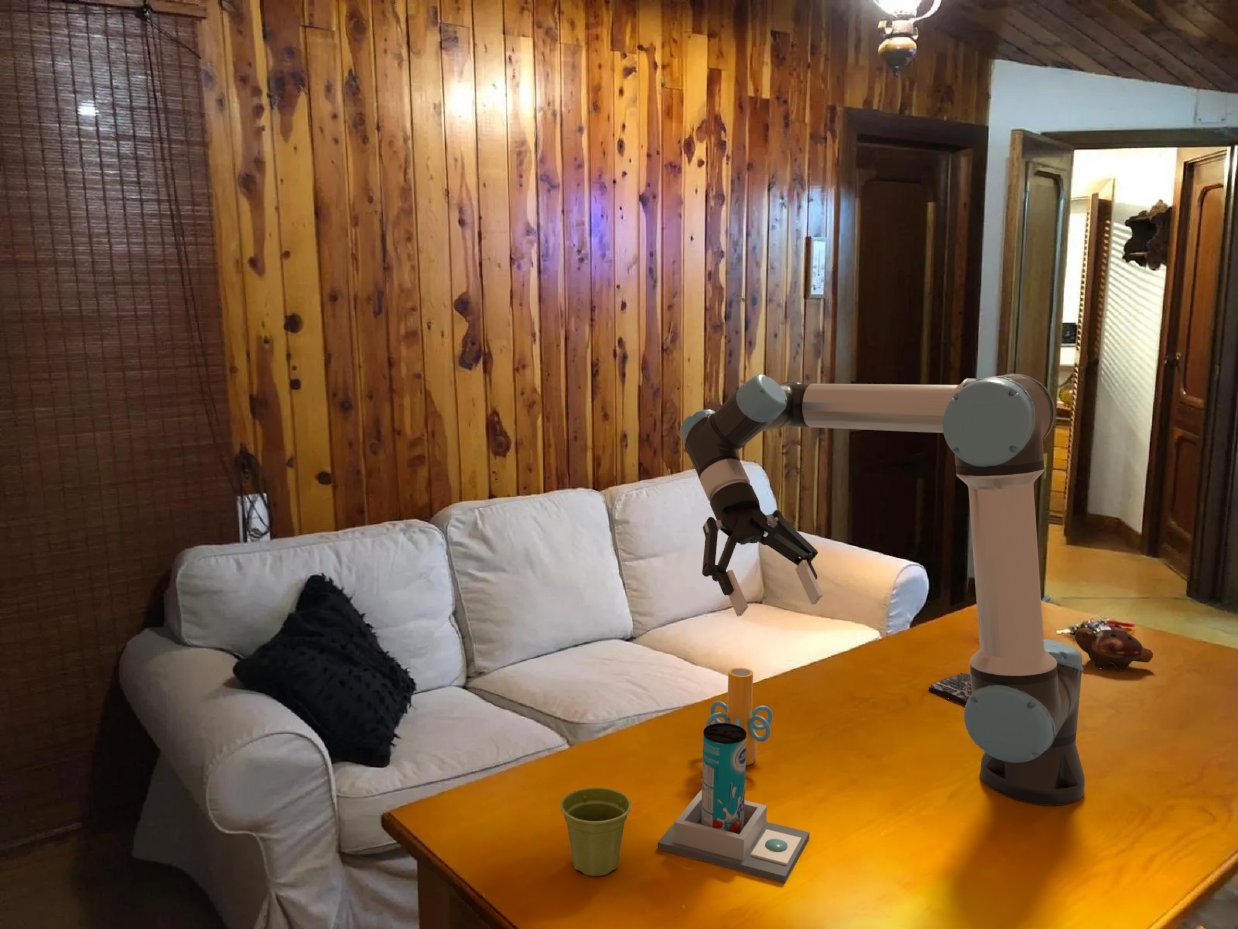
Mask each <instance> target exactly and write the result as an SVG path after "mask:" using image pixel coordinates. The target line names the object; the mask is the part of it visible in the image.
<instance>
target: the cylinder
mask: <svg viewBox="0 0 1238 929" xmlns="http://www.w3.org/2000/svg"><path fill="white" fill-rule="evenodd" d="M727 678H728V679H727V704H726V703H725V702H723V701H721V700H717V701H714V702H713V703H712V704H711V706H710V708H709V709H710V711H709V712H710V716H709V717H708V718H707V720H706V723H705V728H706V727H707V726H709V725H711V724H713V723H712V722H714V724H716V723H729V724H734V725H737V726H740V727H742V728H743V729H744V730H745V731H746V733H747V735H746V767H747V766H751V765H753V764H754V763H755V762H756V760H757V756H758V755H757V754H758V742H761V743H764V742H766V741H767V740H769V738H770V736H771V726H770V725H771V724H772V721H773V711H772V710H771V708H769V707H768V706H767V705H758V706H756V707H755V708H753V688H754V687H753V686H754V685H753V684H754V671H753V670H751V669H749V668H745V667H733V668H730V669H728V674H727ZM717 707H721V708H722V709H723V710H724V712H725V713H724V712H720V711H719V712H716V708H717ZM761 711H763V712H764V711H765V712H766V713H767V719H766V718H765V717H763V716H762V715H757V714H758V713H759V712H761ZM719 718H722V719H723V721H721V720H720V719H719ZM756 721H758V722H760V723H761V725H757V724H756ZM755 730H756V731H763V730H764V731H765V733H764V735H763V736H759V735H758V734H757V732H756V731H755Z"/></svg>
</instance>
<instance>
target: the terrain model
mask: <svg viewBox="0 0 1238 929" xmlns="http://www.w3.org/2000/svg"><path fill="white" fill-rule="evenodd" d="M930 691H931V693H933V694H936V695H938V696H940V695H941V696H940V697H942V696H943V698H945V699H947V698H949V699H948V700H950V699H951V700H950V701H952V700H953V701H952V702H954V701H955V702H954V703H957V702H958V703H957V704H959V703H961V704H962V706H964V705H966V703H967V700H968V698H969V697H970V696H971V694H972V687H971V672H967V673H965V672H963V673H962V672H960V673H958V674H957V675H953V676H948V677H945V678H943V679H940V680H939V681H938V682H935V683H934V684H931V685H930V686H928V692H930ZM961 704H960V705H961Z"/></svg>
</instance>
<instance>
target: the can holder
mask: <svg viewBox="0 0 1238 929" xmlns="http://www.w3.org/2000/svg"><path fill="white" fill-rule="evenodd" d="M767 813H768V805H766V804H761V803H756V802H753V801H749V800H744V828H743V830H742V831H741V833H740V834H736V833H732V832H728V831H724V830H720V829H716V828H712V827H708V826H704V825H701V817H702V789H700V791H699V792H698V793H697V794H696V795H695V797H694V798H692V800H691V802H690V803H689V804H688V805H687V806H686V807H685V809H684V810H683V811H682V813H681V814H680V815H679V816H678V817H677V818H676V819H675V820H674V821H673V823H672V825H671V826H670V827H669V828H668V829H667V831H666V832H665V833H664V834H663V835H662V836H661V838H660V839H659V840H658V842H657V850H659V851H663V852H668V853H671V854H673V855H679V856H682V857H686V858H690V859H692V860H697V861H701V862H704V863H708V864H711V865H716V866H719V867H723V868H725V869H726V868H727V869H731V870H734V871H736V872H737V871H739V872H740V873H741V872H742V873H745V874H748V875H752V876H757V877H759V878H760V877H761V878H764V879H767V880H770V881H776V882H778V883H783V884H786V883H787V880H788V878H789V876H790V875H791V873H792V871H793V869H794V867H795V865H796V864H797V862H798V860H799V858H800V856H801V855H802V853H803V852H804V849H805V847H806V846H807V844H808V842H809V840H810V832H809V831H806V830H802V829H798V828H794V827H789V826H785V825H782V824H777V823H773V822H770V821H767Z"/></svg>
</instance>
